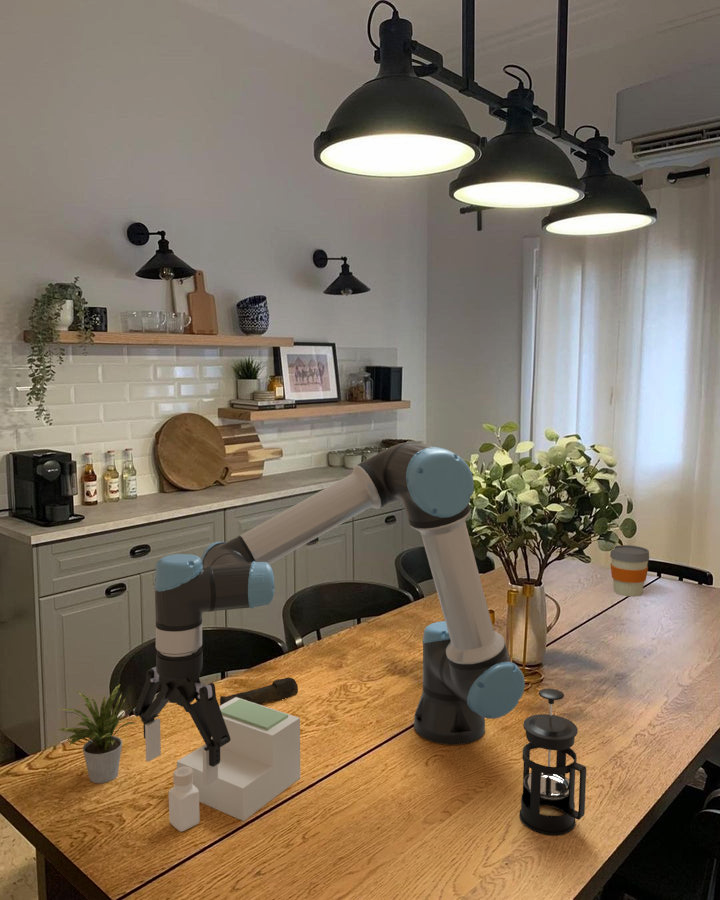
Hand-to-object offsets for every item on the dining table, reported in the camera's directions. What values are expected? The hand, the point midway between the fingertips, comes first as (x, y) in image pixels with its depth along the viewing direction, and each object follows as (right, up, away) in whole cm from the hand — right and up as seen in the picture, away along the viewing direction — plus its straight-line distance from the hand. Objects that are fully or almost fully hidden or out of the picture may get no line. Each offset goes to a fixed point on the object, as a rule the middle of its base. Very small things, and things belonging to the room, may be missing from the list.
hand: (181, 769), depth 127 cm
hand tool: (+7, -5, +47) cm, 48 cm away
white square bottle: (0, -10, +1) cm, 10 cm away
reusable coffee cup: (+122, +5, +129) cm, 178 cm away
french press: (+63, -10, +2) cm, 64 cm away
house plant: (-19, -8, +17) cm, 27 cm away
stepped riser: (+8, -8, +13) cm, 17 cm away
